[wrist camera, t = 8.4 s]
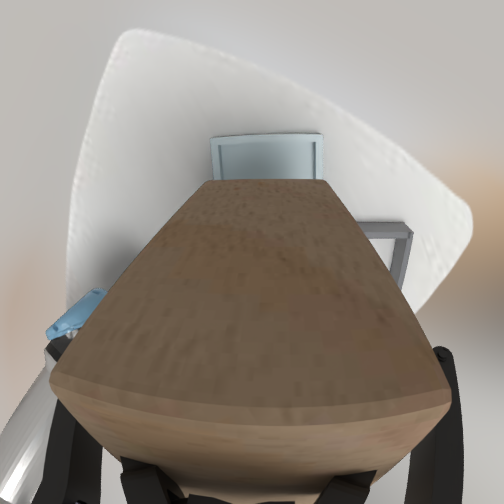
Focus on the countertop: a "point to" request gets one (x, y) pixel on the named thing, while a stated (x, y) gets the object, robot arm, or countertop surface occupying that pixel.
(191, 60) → the countertop surface
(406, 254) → the bay
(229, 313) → the wooden block
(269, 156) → the tray
